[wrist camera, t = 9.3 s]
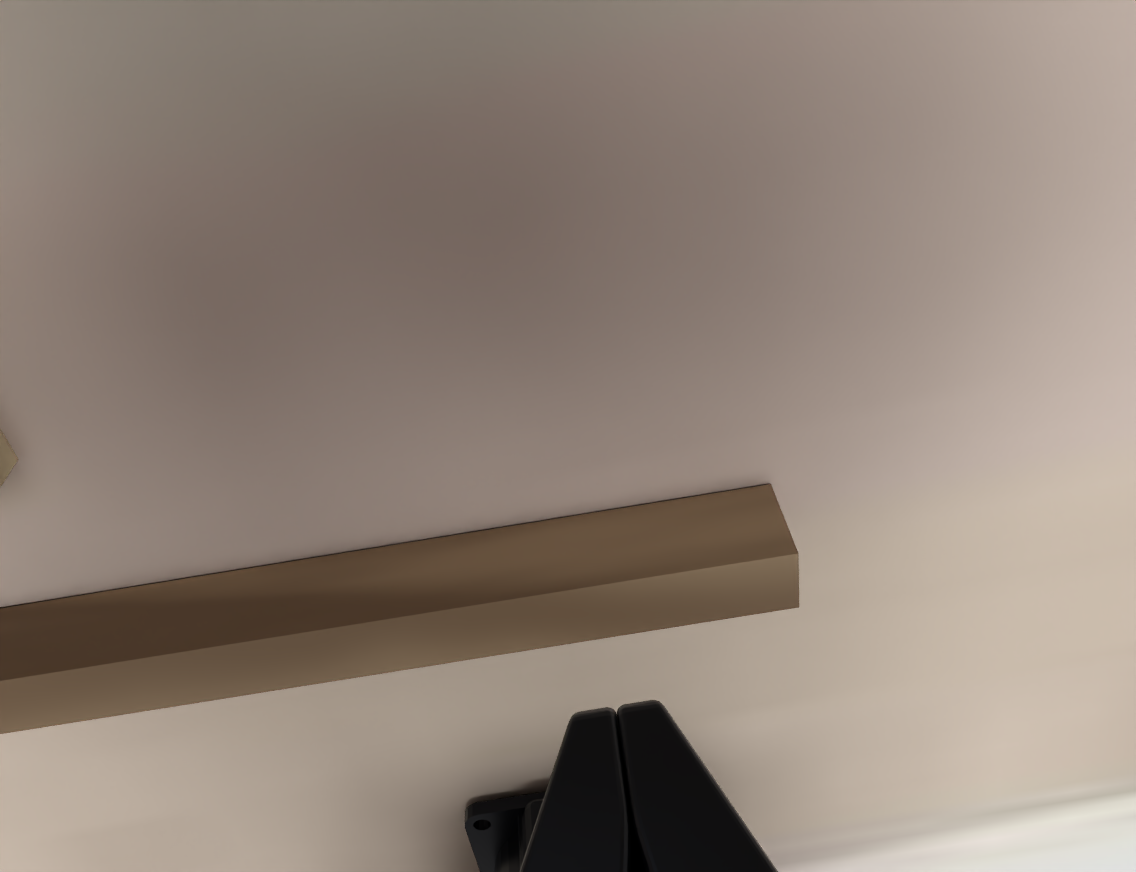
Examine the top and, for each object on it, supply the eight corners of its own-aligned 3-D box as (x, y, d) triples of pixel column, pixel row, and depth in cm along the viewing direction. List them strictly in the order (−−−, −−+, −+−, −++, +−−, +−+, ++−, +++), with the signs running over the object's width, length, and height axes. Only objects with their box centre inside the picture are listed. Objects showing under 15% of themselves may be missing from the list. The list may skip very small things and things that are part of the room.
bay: (772, 536, 24) (798, 607, 22) (-170, 687, 24) (-226, 770, 22) (741, -378, 14) (783, -397, 12) (-837, -96, 15) (-1042, -70, 13)
